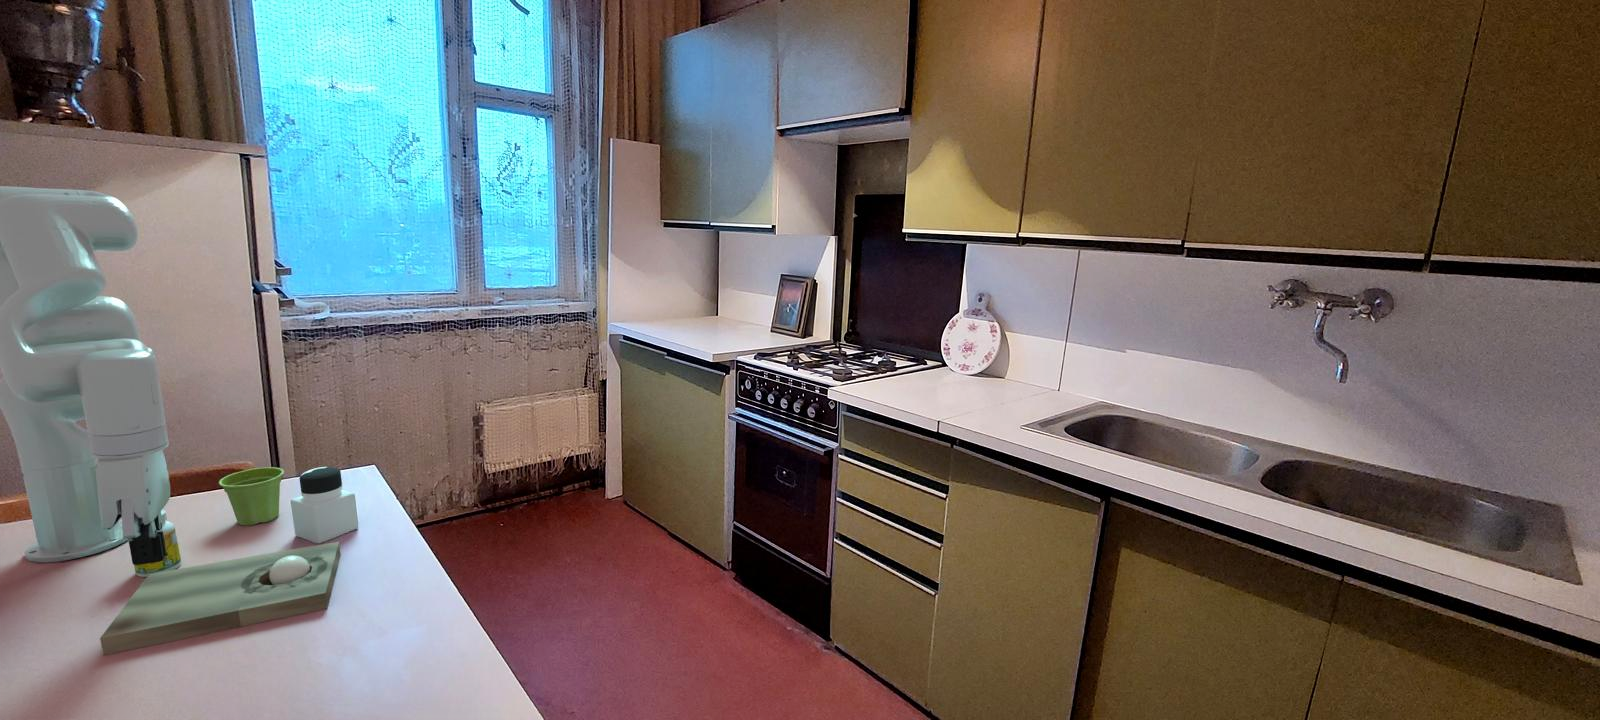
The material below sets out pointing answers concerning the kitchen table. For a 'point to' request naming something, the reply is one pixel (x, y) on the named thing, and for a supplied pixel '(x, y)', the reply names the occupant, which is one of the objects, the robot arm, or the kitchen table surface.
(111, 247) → the robot arm
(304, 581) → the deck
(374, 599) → the kitchen table surface
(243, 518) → the plant pot
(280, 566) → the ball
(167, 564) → the supplement bottle
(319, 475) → the medicine bottle
